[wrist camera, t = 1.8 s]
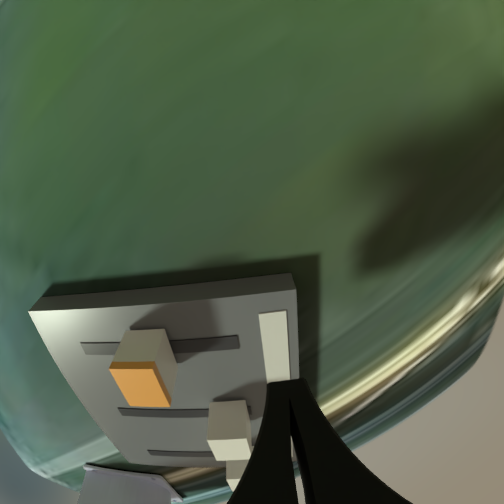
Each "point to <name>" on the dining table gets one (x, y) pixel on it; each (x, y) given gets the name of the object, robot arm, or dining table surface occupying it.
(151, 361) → the switch
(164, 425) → the panel
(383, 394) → the dining table surface
